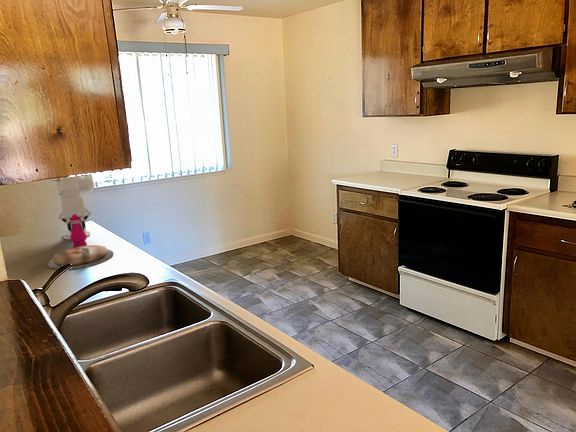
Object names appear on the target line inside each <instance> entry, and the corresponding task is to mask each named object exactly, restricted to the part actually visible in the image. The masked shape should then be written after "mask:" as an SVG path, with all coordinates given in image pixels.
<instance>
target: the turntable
mask: <svg viewBox="0 0 576 432" xmlns="http://www.w3.org/2000/svg"><path fill="white" fill-rule="evenodd" d="M107 249H108V248H107V247H106V246H103V245H98V244H96V245H94V244H93V245H92V244H91V245H90V244H89V245H87V246H80V247H75V248H73V247H70V248H68V249H64V250H61V251H59V252H57V253H55V254H54V255H53V257H52V259H53V261H54V263H55V264H56V265H61V266H62V265H65V264H72V265H80V264H86V263H90V262H93V261H96V260H99V259H101V258H103V257H105V256H106V255H107Z"/></svg>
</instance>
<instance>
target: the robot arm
mask: <svg viewBox="0 0 576 432" xmlns="http://www.w3.org/2000/svg"><path fill="white" fill-rule="evenodd" d="M49 181H50V182H51V183H56V189H57V192H58V195H59V199H60V205H61V207H60V208H61V212H60V213H59V214H58V217H57V219H58V220H60V221H62V222H64V225H65V227H64V229H62V230H61V231H62V233H65V235H64V236H63V237H64V239H65V240H70V241H71V239H70V236H71V232H72V224H71V223H70V219H69V218H72V215H74V214H76V215H77V217H81V218H80V219H81V221H82V222H81V227H82V229H83V231H84V232H85V234H86V236H87V237H89V236H90V235H91V232H90V231H88V230H87V226H86V225H87V224H86V220H88V218H89V217H90V216H91V215H92V212H91V211H89V210H88V209H87V208H86V205H85V202H84V198H83V195H85V194H86V195H87V194H90V193H93V192H94V190H95V185H94V184H95V182H94V179H93V175H92V173H91V174H89V175H81V176H75V177H69V178H63V179H57V180H49Z"/></svg>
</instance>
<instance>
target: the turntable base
mask: <svg viewBox="0 0 576 432" xmlns="http://www.w3.org/2000/svg"><path fill="white" fill-rule="evenodd" d="M113 256H114V252H113V250H111V249H108V248H107V255H106V256H105V257H103V258H101V259H99V260H96V261H93V262H90V263H86V264H80V265H72V269H71V270H79V269H83V268H89V267H93V266H96V265H99V264H103V263H104V262H105V263H106V261H109V260H111V259H112V258H113ZM47 267H48V268H49V269H53V270H56V269H58V268H59V267H61V265H56V264H55V263H54V261H53V258H51V259H50V260H49V261H48V262H47ZM78 268H79V269H78Z"/></svg>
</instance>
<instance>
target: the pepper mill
mask: <svg viewBox="0 0 576 432" xmlns="http://www.w3.org/2000/svg"><path fill="white" fill-rule="evenodd" d="M80 218H81V217H77V215H76V214H74V215H72V218H69V219H70V223H71V224H72V232H71V236H70V239H71V240H70V241H71V242H72V248H75V247H80V246H88V243H87V241H86V240H87V238H88V236H86V234H85V232H84V231H83V229H82V227H81V222H82V221H81V219H80Z"/></svg>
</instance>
